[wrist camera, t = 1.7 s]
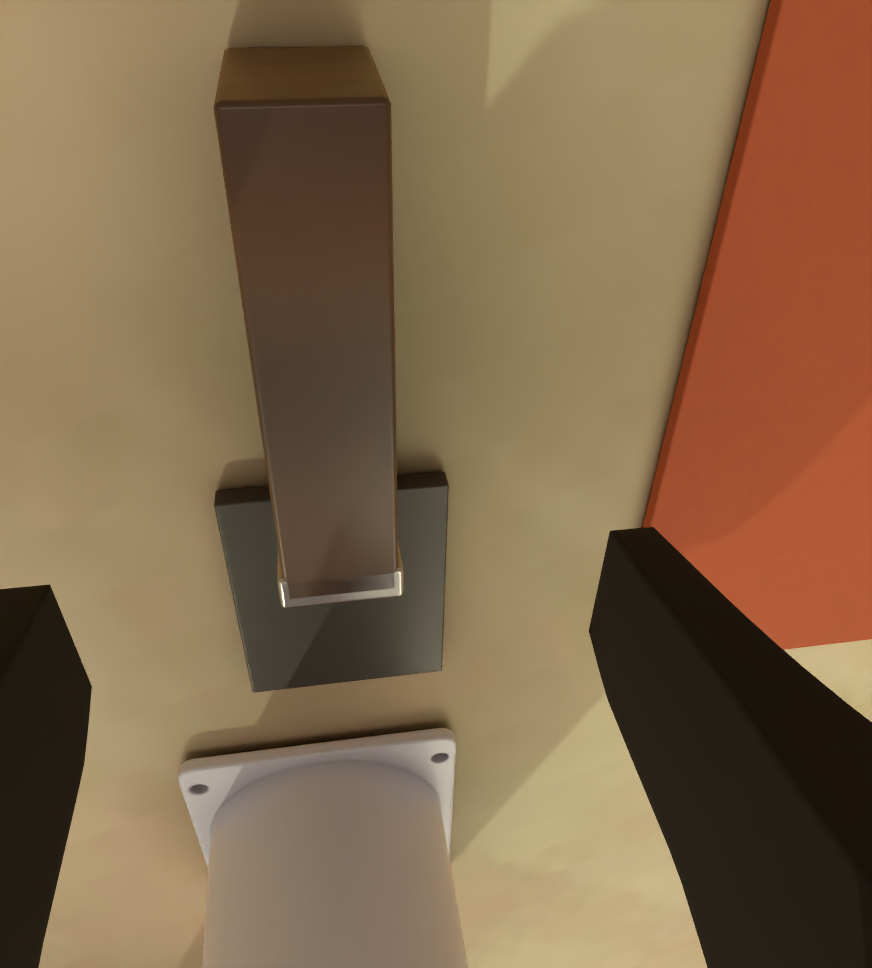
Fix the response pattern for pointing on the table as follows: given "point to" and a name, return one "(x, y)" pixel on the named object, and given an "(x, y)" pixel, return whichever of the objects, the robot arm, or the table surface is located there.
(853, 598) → the mat
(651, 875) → the table surface
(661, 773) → the robot arm
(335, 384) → the spatula
